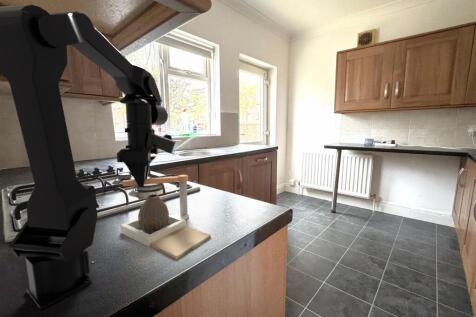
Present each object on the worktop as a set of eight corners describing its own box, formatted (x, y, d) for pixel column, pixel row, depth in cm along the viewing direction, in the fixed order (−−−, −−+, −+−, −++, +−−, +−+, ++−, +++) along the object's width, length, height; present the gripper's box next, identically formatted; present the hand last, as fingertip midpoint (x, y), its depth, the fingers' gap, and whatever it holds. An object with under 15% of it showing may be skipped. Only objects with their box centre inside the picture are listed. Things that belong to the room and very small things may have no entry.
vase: (169, 235, 51) (168, 198, 49) (137, 239, 48) (134, 201, 47) (169, 222, 57) (168, 190, 56) (140, 225, 55) (138, 192, 54)
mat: (176, 259, 41) (176, 256, 41) (144, 243, 47) (144, 241, 47) (210, 237, 50) (210, 234, 50) (180, 226, 55) (180, 223, 55)
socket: (148, 246, 45) (146, 200, 44) (121, 232, 51) (118, 191, 50) (200, 220, 59) (199, 183, 57) (173, 211, 64) (172, 177, 63)
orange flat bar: (122, 187, 52) (122, 182, 52) (123, 184, 55) (123, 179, 54) (189, 181, 58) (189, 176, 58) (187, 179, 61) (187, 174, 61)
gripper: (170, 123, 47) (173, 193, 49) (175, 125, 65) (176, 176, 67) (113, 122, 44) (118, 196, 46) (134, 125, 62) (137, 178, 64)
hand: (142, 185), depth 56 cm, fingers open, 3 cm apart
